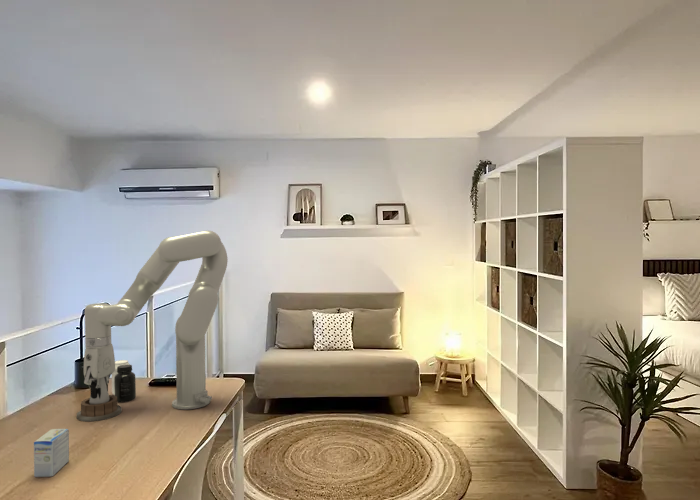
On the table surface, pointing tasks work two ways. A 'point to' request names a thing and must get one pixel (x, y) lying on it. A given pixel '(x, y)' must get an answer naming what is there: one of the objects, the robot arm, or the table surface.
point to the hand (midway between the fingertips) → (99, 397)
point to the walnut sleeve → (99, 410)
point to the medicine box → (51, 452)
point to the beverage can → (117, 363)
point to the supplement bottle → (125, 384)
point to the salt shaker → (104, 393)
